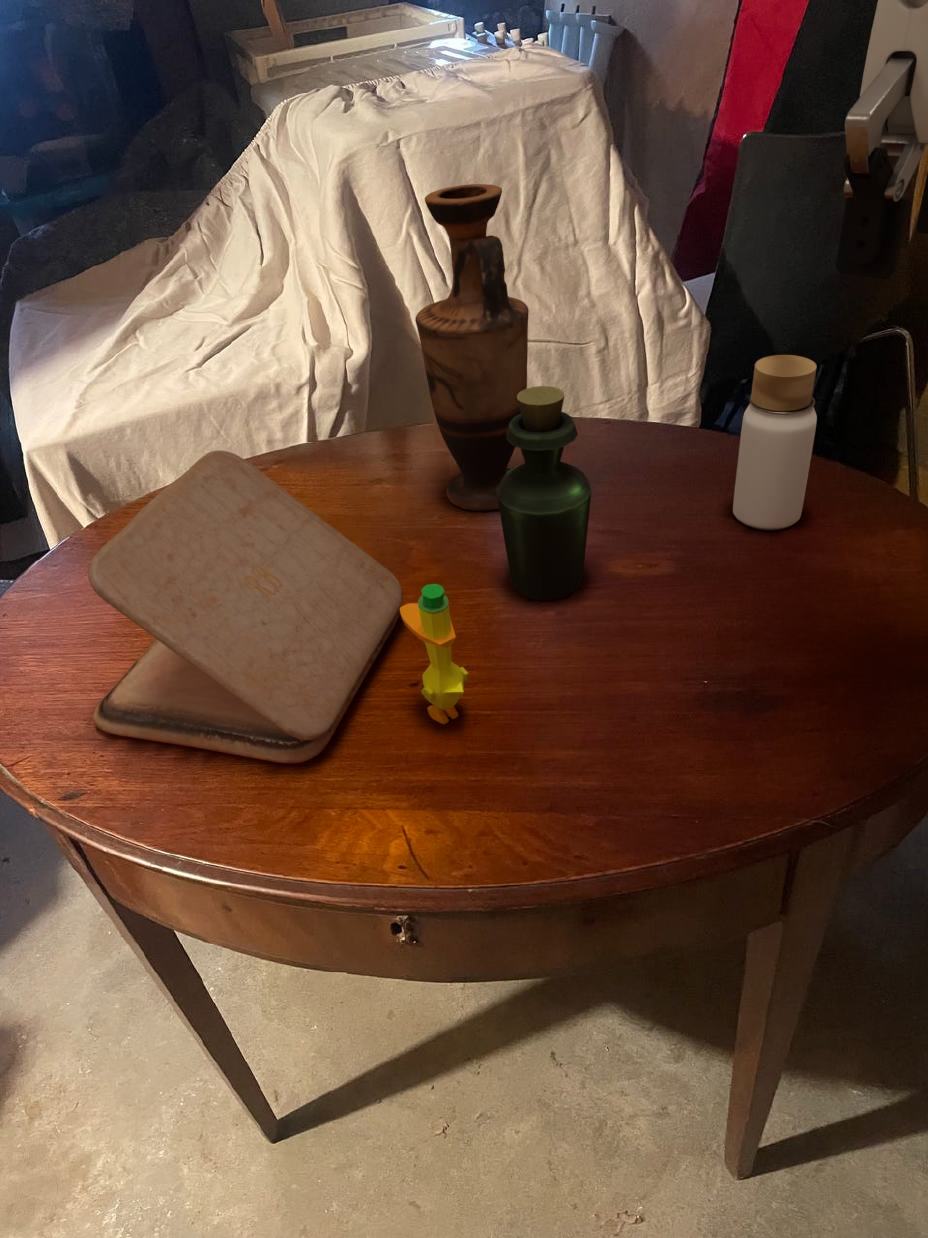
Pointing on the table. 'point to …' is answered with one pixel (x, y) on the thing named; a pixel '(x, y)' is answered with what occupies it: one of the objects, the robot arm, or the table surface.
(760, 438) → the can
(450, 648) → the toy figure
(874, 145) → the robot arm
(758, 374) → the cylinder
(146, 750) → the table surface
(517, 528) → the potion bottle
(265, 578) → the case
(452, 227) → the vase
